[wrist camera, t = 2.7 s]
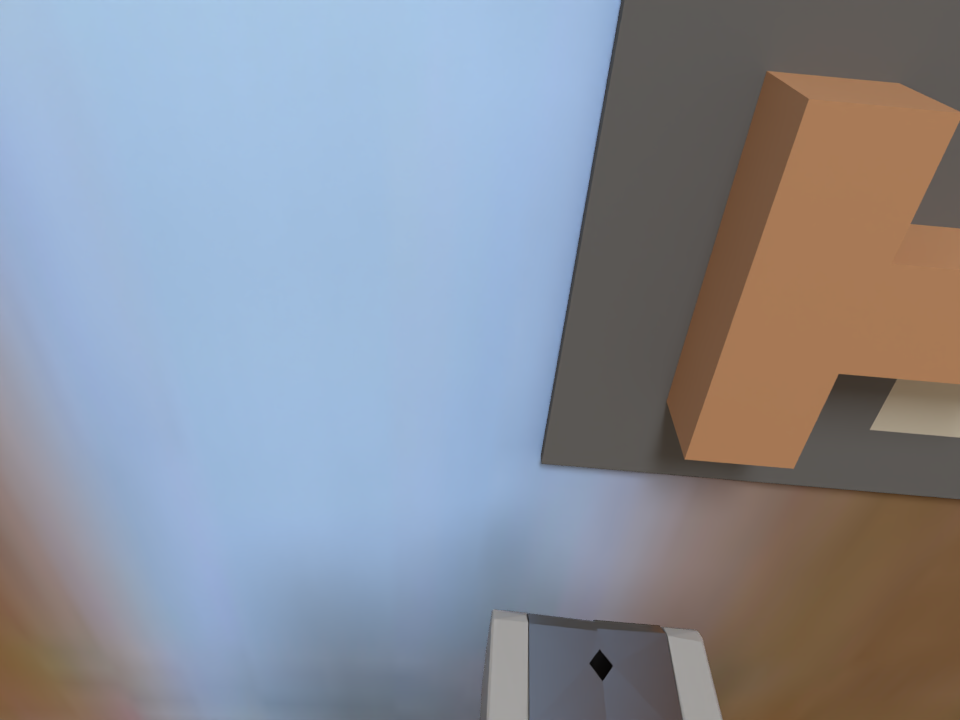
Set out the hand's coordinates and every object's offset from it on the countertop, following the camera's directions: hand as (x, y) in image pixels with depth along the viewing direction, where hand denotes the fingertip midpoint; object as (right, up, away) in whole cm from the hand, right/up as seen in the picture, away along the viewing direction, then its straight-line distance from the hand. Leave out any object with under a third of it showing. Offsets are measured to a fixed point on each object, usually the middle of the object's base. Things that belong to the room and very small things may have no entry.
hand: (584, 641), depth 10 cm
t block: (+10, +7, +11) cm, 16 cm away
